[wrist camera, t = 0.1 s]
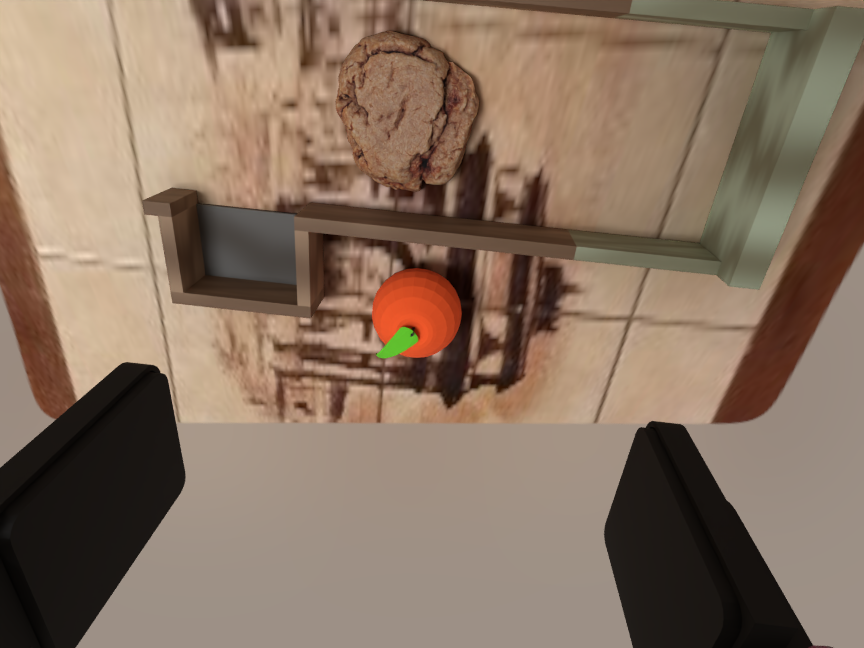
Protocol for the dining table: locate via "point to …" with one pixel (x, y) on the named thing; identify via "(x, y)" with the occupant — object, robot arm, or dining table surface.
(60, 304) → the dining table surface
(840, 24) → the channel
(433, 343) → the clementine
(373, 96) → the cookie
